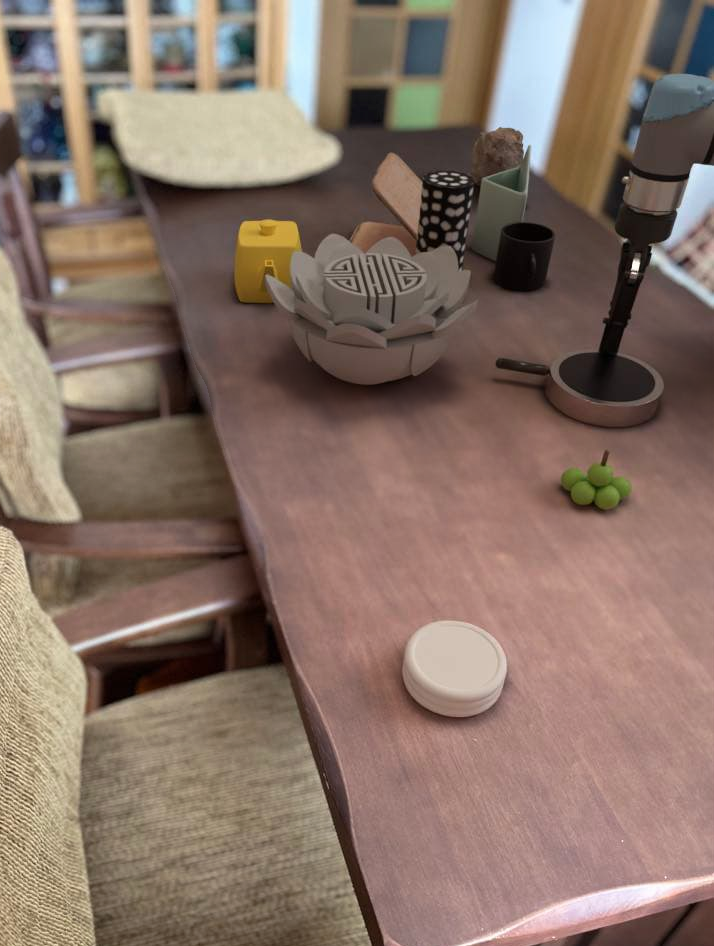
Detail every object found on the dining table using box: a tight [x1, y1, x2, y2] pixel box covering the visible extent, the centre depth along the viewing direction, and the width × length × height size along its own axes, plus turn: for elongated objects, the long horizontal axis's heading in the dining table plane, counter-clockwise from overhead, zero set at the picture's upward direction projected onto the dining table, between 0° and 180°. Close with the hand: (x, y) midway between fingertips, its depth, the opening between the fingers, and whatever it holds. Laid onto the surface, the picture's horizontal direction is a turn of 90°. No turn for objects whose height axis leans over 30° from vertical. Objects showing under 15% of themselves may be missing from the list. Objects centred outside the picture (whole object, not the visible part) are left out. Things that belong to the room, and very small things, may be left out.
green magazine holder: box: [471, 144, 532, 263], centre depth 155 cm, size 16×8×20 cm, turn 172°
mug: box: [493, 221, 556, 292], centre depth 148 cm, size 9×12×9 cm
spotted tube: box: [415, 169, 475, 272], centre depth 140 cm, size 8×8×20 cm
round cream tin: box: [401, 619, 508, 718], centre depth 81 cm, size 10×10×4 cm
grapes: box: [560, 449, 633, 511], centre depth 101 cm, size 9×5×8 cm, turn 73°
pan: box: [494, 348, 665, 428], centre depth 122 cm, size 24×16×4 cm, turn 72°
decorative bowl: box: [265, 233, 479, 386], centre depth 123 cm, size 30×30×15 cm
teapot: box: [233, 218, 303, 304], centre depth 144 cm, size 20×12×12 cm, turn 1°
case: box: [348, 152, 423, 257], centre depth 155 cm, size 20×21×16 cm
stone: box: [470, 126, 532, 188], centre depth 180 cm, size 22×10×15 cm, turn 8°
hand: (605, 360), depth 127 cm, fingers closed
